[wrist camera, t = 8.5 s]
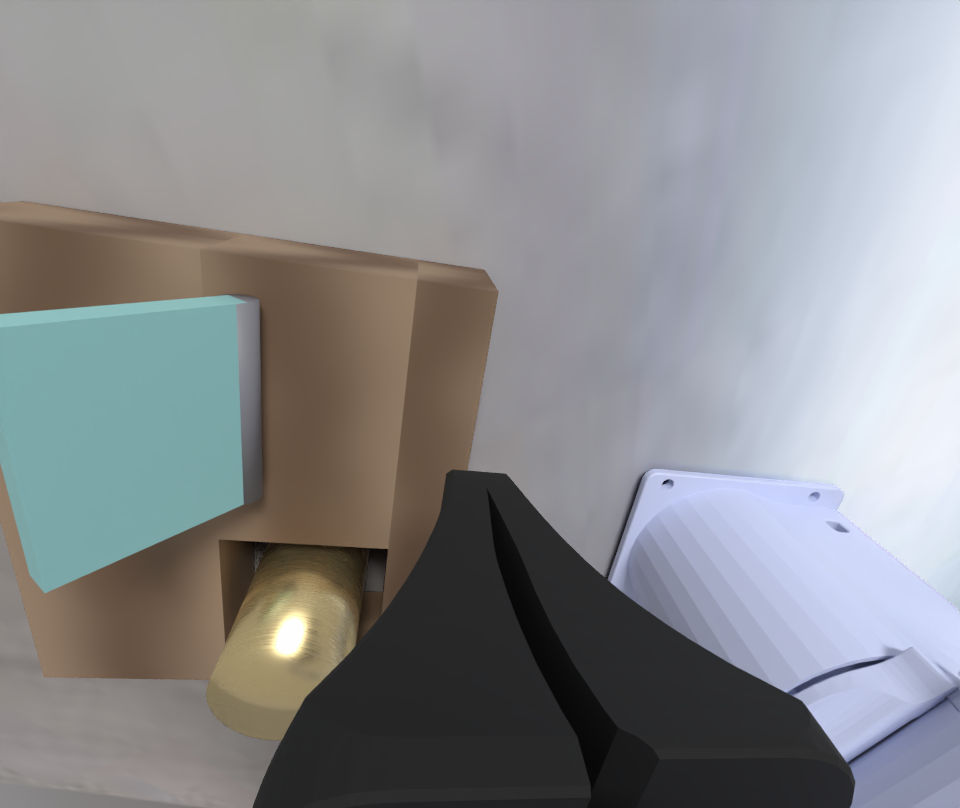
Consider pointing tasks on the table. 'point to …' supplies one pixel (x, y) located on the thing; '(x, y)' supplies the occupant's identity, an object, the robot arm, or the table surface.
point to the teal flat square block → (127, 425)
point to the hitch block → (285, 421)
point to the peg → (287, 635)
